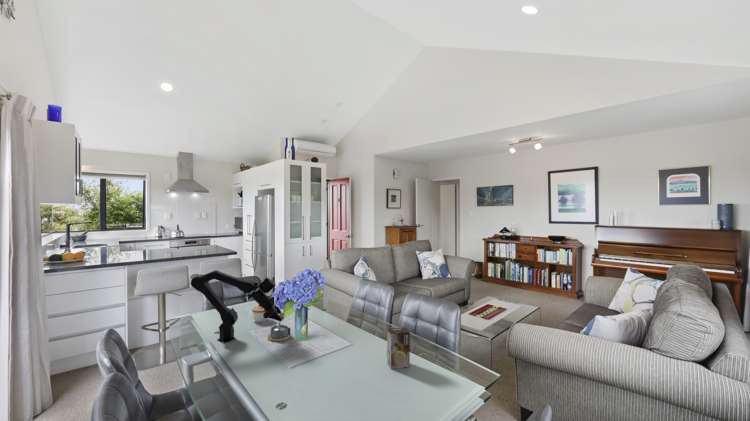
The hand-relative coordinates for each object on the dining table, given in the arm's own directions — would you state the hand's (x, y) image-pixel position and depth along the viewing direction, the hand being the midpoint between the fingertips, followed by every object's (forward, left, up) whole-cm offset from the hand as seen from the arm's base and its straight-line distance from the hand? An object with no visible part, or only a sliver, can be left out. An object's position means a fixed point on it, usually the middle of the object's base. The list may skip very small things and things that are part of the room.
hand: (282, 318), depth 176 cm
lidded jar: (+13, +29, -10) cm, 34 cm away
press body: (-1, +1, -10) cm, 10 cm away
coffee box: (+1, -68, -10) cm, 69 cm away
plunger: (-1, +1, -6) cm, 6 cm away
